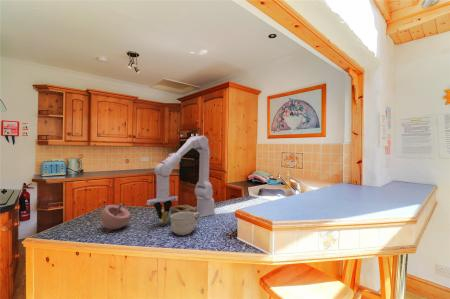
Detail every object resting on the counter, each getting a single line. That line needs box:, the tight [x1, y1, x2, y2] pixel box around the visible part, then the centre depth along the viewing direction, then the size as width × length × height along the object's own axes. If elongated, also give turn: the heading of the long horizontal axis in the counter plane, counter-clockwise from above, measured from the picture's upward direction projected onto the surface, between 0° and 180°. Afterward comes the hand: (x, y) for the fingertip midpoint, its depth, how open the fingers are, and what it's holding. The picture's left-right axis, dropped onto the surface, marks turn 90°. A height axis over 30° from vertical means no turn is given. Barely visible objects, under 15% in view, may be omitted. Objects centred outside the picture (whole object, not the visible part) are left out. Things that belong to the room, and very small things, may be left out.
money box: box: [170, 203, 197, 221], centre depth 105 cm, size 9×10×6 cm
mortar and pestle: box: [100, 202, 132, 230], centre depth 94 cm, size 12×12×12 cm
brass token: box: [157, 208, 169, 224], centre depth 98 cm, size 2×5×5 cm, turn 40°
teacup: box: [169, 211, 202, 236], centre depth 91 cm, size 14×11×8 cm
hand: (162, 217), depth 98 cm, fingers closed on brass token, 2 cm apart
